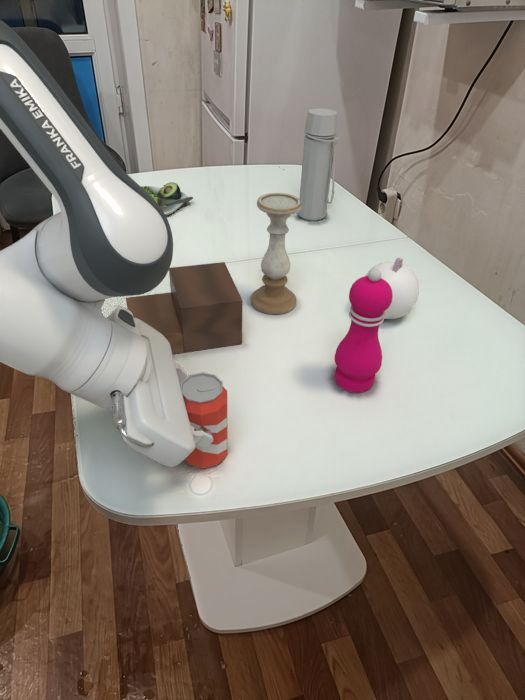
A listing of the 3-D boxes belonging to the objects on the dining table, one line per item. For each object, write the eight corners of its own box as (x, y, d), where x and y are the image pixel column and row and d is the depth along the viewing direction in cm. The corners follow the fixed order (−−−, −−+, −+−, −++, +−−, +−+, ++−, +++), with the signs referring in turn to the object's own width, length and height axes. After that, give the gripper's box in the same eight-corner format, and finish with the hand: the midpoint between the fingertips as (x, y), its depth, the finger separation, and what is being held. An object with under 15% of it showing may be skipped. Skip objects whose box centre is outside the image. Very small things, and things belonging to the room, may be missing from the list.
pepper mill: (356, 402, 77) (380, 289, 65) (321, 377, 82) (337, 267, 69) (386, 382, 81) (413, 272, 69) (351, 359, 85) (371, 251, 73)
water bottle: (291, 216, 130) (299, 111, 115) (309, 208, 135) (319, 105, 119) (320, 227, 125) (332, 119, 110) (338, 218, 130) (352, 113, 115)
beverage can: (234, 463, 67) (234, 397, 60) (186, 476, 66) (181, 409, 58) (221, 431, 72) (220, 365, 64) (176, 441, 70) (169, 375, 62)
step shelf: (135, 360, 83) (128, 314, 78) (128, 316, 93) (121, 272, 87) (242, 344, 88) (242, 300, 82) (224, 303, 97) (224, 261, 92)
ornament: (409, 334, 92) (425, 276, 84) (353, 323, 94) (363, 265, 86) (413, 304, 100) (428, 249, 92) (361, 294, 102) (371, 239, 94)
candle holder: (262, 319, 94) (267, 214, 81) (243, 295, 100) (245, 194, 87) (304, 309, 97) (315, 206, 84) (283, 286, 103) (290, 188, 90)
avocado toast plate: (163, 229, 122) (161, 210, 119) (99, 216, 126) (96, 197, 123) (199, 200, 136) (198, 183, 133) (140, 189, 140) (138, 172, 137)
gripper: (137, 414, 47) (238, 460, 56) (120, 297, 63) (202, 347, 71) (95, 455, 49) (200, 494, 58) (88, 331, 64) (172, 376, 73)
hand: (201, 412), depth 64 cm, fingers open, 8 cm apart
